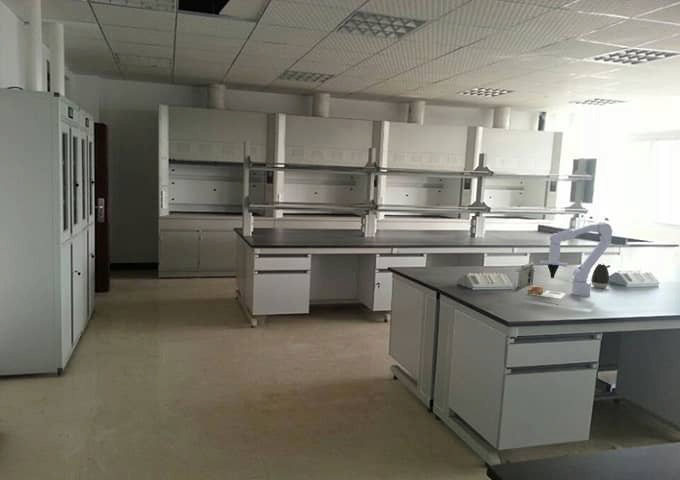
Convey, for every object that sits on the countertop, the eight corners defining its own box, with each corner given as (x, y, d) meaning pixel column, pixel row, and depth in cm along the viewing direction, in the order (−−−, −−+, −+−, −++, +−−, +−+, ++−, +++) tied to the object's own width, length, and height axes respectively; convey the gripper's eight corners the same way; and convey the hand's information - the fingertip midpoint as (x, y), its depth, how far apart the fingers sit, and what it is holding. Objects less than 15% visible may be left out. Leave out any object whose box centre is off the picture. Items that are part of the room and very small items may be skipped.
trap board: (566, 295, 301) (566, 288, 301) (560, 301, 286) (561, 294, 285) (533, 291, 311) (533, 284, 310) (526, 296, 295) (526, 289, 295)
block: (542, 293, 298) (543, 286, 297) (540, 295, 293) (541, 287, 293) (533, 292, 300) (534, 285, 300) (531, 293, 296) (532, 286, 296)
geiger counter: (526, 265, 316) (539, 261, 336) (515, 264, 319) (528, 260, 339) (524, 288, 317) (537, 283, 337) (513, 287, 321) (527, 281, 341)
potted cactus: (612, 289, 325) (614, 265, 323) (595, 289, 325) (597, 264, 323) (604, 286, 335) (606, 262, 333) (587, 285, 335) (589, 262, 333)
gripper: (539, 253, 302) (537, 277, 304) (566, 256, 295) (564, 280, 296) (542, 252, 308) (540, 275, 310) (568, 255, 301) (566, 278, 302)
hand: (552, 278), depth 303 cm, fingers closed
